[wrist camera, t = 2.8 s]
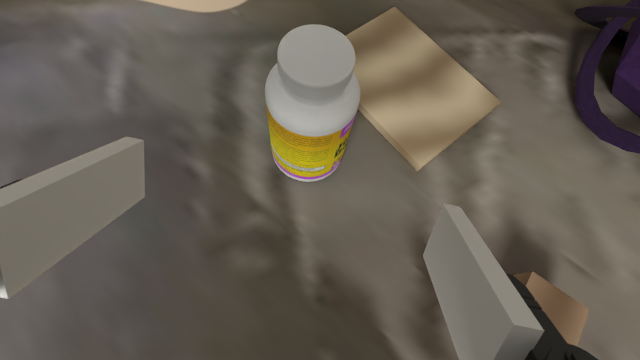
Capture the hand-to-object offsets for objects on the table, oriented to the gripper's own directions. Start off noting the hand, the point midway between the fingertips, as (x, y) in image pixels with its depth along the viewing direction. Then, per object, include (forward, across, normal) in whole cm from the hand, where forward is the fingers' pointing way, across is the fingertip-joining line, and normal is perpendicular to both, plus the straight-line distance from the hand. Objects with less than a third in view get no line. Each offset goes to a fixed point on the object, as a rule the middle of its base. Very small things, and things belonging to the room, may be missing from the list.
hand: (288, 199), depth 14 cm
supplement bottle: (+17, -1, -3) cm, 17 cm away
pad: (+24, +8, +4) cm, 25 cm away
